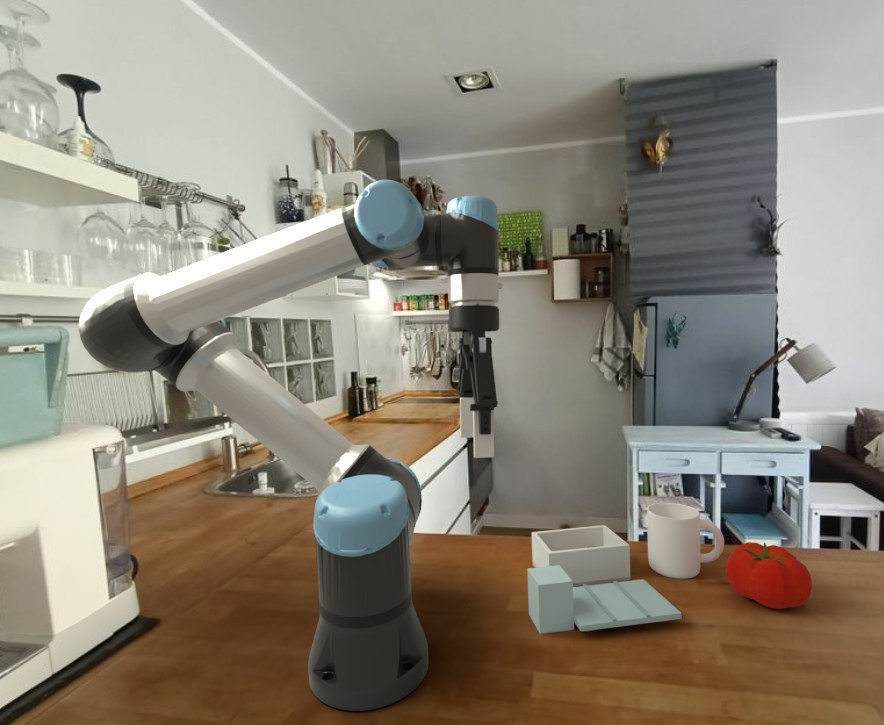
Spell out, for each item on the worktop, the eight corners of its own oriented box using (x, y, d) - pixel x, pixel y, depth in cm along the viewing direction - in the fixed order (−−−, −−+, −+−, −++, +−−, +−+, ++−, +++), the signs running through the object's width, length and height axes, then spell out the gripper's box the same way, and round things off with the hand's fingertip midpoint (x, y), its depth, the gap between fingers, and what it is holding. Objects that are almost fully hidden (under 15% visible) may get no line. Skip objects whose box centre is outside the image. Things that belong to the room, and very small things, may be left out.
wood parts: (609, 573, 83) (608, 556, 83) (579, 576, 82) (579, 559, 82) (596, 560, 88) (595, 543, 88) (568, 563, 87) (567, 546, 87)
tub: (630, 580, 82) (629, 545, 81) (550, 589, 80) (548, 553, 80) (605, 556, 91) (604, 525, 90) (532, 564, 89) (531, 532, 88)
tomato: (725, 576, 82) (725, 532, 81) (807, 590, 76) (806, 543, 76) (725, 607, 73) (724, 558, 72) (817, 627, 67) (817, 574, 67)
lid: (681, 626, 68) (680, 578, 68) (545, 644, 66) (544, 593, 65) (643, 591, 78) (642, 548, 78) (524, 605, 76) (522, 561, 75)
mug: (718, 562, 87) (718, 505, 86) (731, 585, 79) (730, 522, 78) (646, 555, 90) (644, 501, 90) (650, 577, 82) (649, 517, 82)
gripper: (519, 298, 61) (521, 466, 62) (483, 309, 86) (484, 429, 87) (460, 298, 60) (462, 469, 61) (440, 310, 85) (442, 431, 86)
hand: (475, 446), depth 74 cm, fingers open, 13 cm apart
